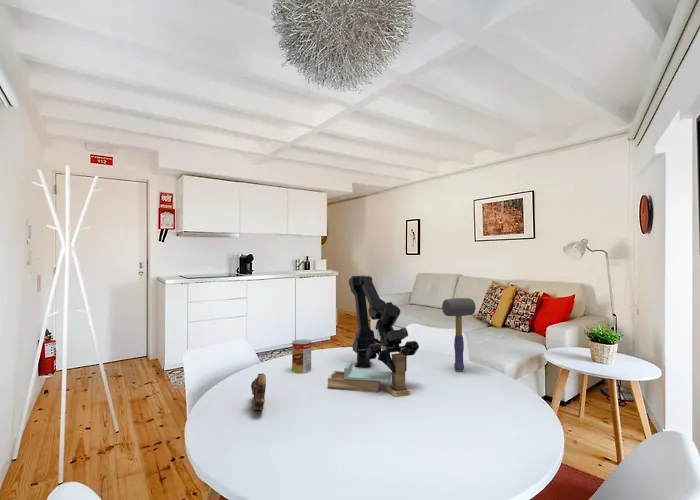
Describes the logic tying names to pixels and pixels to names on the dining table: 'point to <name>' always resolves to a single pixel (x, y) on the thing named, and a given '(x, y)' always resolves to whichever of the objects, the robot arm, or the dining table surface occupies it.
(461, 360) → the rubber mallet
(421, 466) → the dining table surface
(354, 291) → the robot arm
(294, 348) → the canned food
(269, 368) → the dining table surface
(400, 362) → the brown block
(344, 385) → the wooden tray
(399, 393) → the frame
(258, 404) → the wooden carving
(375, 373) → the lid
